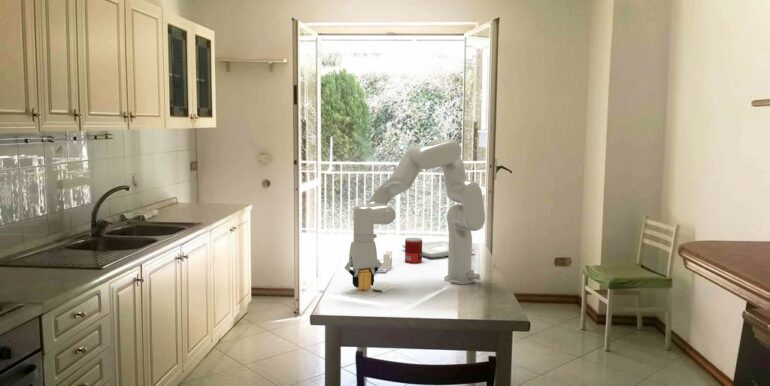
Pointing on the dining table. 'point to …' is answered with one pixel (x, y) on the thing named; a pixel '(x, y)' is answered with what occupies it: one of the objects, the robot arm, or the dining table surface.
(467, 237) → the robot arm
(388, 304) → the dining table surface
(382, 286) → the junction plate
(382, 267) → the bracket
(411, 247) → the canned food
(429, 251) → the square plate
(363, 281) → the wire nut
